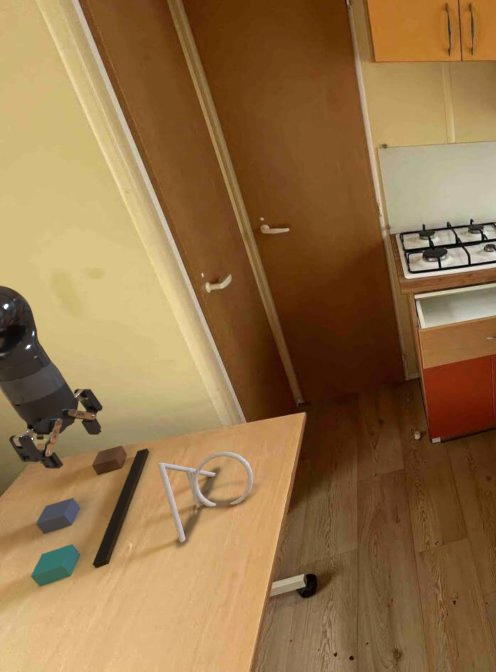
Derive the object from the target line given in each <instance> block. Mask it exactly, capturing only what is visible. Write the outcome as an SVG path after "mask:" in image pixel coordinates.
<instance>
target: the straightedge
mask: <svg viewBox="0 0 496 672" xmlns="http://www.w3.org/2000/svg"><path fill="white" fill-rule="evenodd" d="M149 454H150V451H149V449H148V448H143V449H140V450H137V451H136V453H135V456H134V459H133V461H132V464H131V466H130V468H129V471H128V474H127V476H126V479H125V481H124V484H123V486H122V489H121V491H120V494H119V496H118V499H117V502H116V504H115V507H114V509H113V511H112V514H111V516H110V519H109V522H108V525H107V527H106V530H105V532H104V534H103V537H102V540H101V542H100V544H99V547H98V550H97V552H96V553H95V554H96V555H95V557H94V560H93V562H92V566H93V567H94V568H95V569H97V568H100V567H103V566H106V565H109V564H110V561H111V558H112V556H113V553H114V550H115V547H116V545H117V542H118V539H119V536H120V534H121V531H122V528H123V525H124V523H125V520H126V517H127V514H128V511H129V509H130V506H131V504H132V500H133V499H134V496H135V492H136V490H137V487H138V484H139V481H140V479H141V476H142V473H143V470H144V468H145V465H146V462H147V459H148V457H149Z"/></svg>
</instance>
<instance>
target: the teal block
mask: <svg viewBox="0 0 496 672" xmlns="http://www.w3.org/2000/svg"><path fill="white" fill-rule="evenodd" d="M80 556H81V553H80V552H79V550H77V548H76V547H75V546H74V544H72V543H71V544H68V545H65V546H63V547H59V548H56V549H53V550H50V551H46V552H44V553H41V555H40V556H39V559H38V561H37V563H36V564H35V567H34V569H33V571H32V573H31V575H30V578H31V579H32V580H33V581H34V582H35V583H36V584H37V585H38V587H43V586H46V585H50V584H52V583H54V582H58V581H60V580H63V579H66V578H69V577H72V574H73V572H74V570H75V568H76V565H77V563H78V561H79V559H80Z"/></svg>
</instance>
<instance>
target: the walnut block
mask: <svg viewBox="0 0 496 672" xmlns="http://www.w3.org/2000/svg"><path fill="white" fill-rule="evenodd" d="M127 456H128V454H127V452H126V450H125V448H124V446H123V445H118V446H115V447H114V446H113V447H110V448H107V449H102V450H99V451H98V452H97V453H96V456H95V458H94V460H93V462H92V464H91V466H92V468H93V469H94V471H95V473H96V474H97V476H100V475H103V474H107V473H111V472H114V471H118V470H121V469H123V467H124V463H125V461H126V459H127Z"/></svg>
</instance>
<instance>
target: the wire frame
mask: <svg viewBox="0 0 496 672" xmlns="http://www.w3.org/2000/svg"><path fill="white" fill-rule="evenodd" d="M221 457H228V458H232V459H235V460H236V461H237V462H239V463H240V464H241V465H242V466H243V467H244V469H245V471H246V475H247V485H246V487H245V489H244V491H243V493H242V494H241V495H240V496H239V497H238V498H237V499H236V500H234V501H232V502H230V505H237V504H240V503H242V502H243V501H244V500H245V499H246V498H247V496H248V495H249V494H250V491H251V489H252V486H253V482H254V475H253V470H252V466H251V465H250V464H249V462H248V461H247V460H246V459H245V458H244V457H243V456H241V455H240V454H238V453H235V452H231V451H219V452H215V453H212V454H210V455H208V456H206V457H205V458H204V459H202V460H201V461H200V463H199V464H198V465H197V466H196V468H193V467H187V466H182V465H178V464H173V463H167V462H162V461H161V462H160V461H159V463H158V464H157V467H158V471H159V473H160V477H161V480H162V484H163V487H164V491H165V494H166V495H165V496H166V498H167V502H168V505H169V509H170V512H171V516H172V519H173V523H174V526H175V528H176V529H175V530H176V533H177V537H178V540H179V542H180V543H183V542H185V540H186V535H185V532H184V527H183V525H182V521H181V518H180V514H179V511H178V506H177V503H176V500H175V497H174V493H173V489H172V486H171V483H170V479H169V476H168V471H167V470H171V471H177V472H182V473H185V474H186V478H187V481H188V484H189V487H190V491H191V494H192V495H191V496H192V498H193V502H194V505H195V508H196V509H199V508H200V507H201V506H202V504H203V505H204V506H206V507H215V506H216V505H217V503H216V502H212V501H210V500H209V499H207V498H206V497H205V496H204V494H203V493H202V492H201V490H200V486H199V476H205V477H209V478H213V477H215V476H216V472H213V471H209V470H208V471H207V470H203V468H204V467H205V465H206V464H208V463H209V462H210V461H212V460H214V459H216V458H221Z"/></svg>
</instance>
